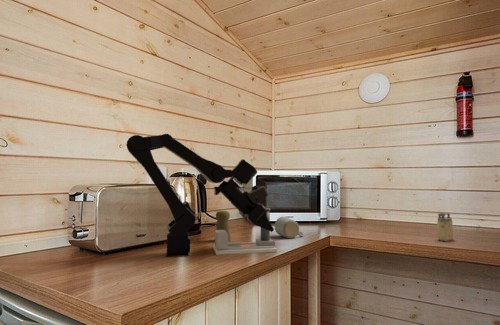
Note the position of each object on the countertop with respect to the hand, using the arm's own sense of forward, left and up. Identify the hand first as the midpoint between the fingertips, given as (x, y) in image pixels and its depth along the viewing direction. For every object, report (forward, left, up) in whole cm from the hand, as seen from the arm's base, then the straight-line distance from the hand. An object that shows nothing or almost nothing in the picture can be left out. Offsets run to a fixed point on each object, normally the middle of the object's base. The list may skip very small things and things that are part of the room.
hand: (269, 228), depth 109 cm
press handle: (-1, 0, -5) cm, 5 cm away
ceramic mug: (+14, +20, -7) cm, 25 cm away
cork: (-13, +17, -7) cm, 23 cm away
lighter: (+69, +2, -7) cm, 69 cm away
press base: (-8, 0, -7) cm, 11 cm away
